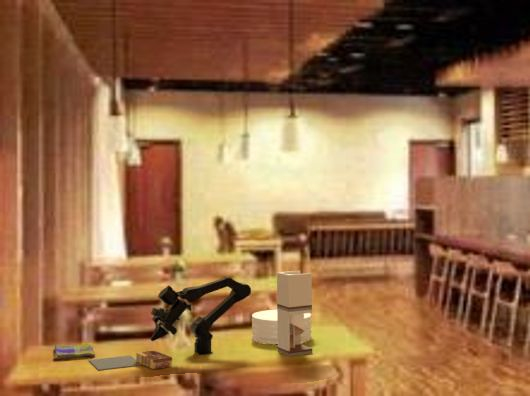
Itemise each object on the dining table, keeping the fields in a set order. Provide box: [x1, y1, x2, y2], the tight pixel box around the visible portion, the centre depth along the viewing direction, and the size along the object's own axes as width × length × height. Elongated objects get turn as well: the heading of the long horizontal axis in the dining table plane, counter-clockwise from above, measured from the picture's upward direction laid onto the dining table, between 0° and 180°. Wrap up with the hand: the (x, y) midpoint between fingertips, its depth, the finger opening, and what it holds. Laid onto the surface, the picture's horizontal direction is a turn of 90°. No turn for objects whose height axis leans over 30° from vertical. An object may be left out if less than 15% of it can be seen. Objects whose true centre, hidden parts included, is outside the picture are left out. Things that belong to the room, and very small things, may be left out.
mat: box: [88, 354, 143, 372], centre depth 332 cm, size 18×18×1 cm
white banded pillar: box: [276, 270, 313, 357], centre depth 346 cm, size 11×11×35 cm
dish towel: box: [52, 342, 96, 361], centre depth 350 cm, size 18×24×3 cm
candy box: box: [135, 350, 173, 370], centre depth 328 cm, size 9×4×15 cm
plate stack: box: [251, 309, 312, 345], centre depth 375 cm, size 28×28×12 cm
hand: (151, 340), depth 338 cm, fingers closed
